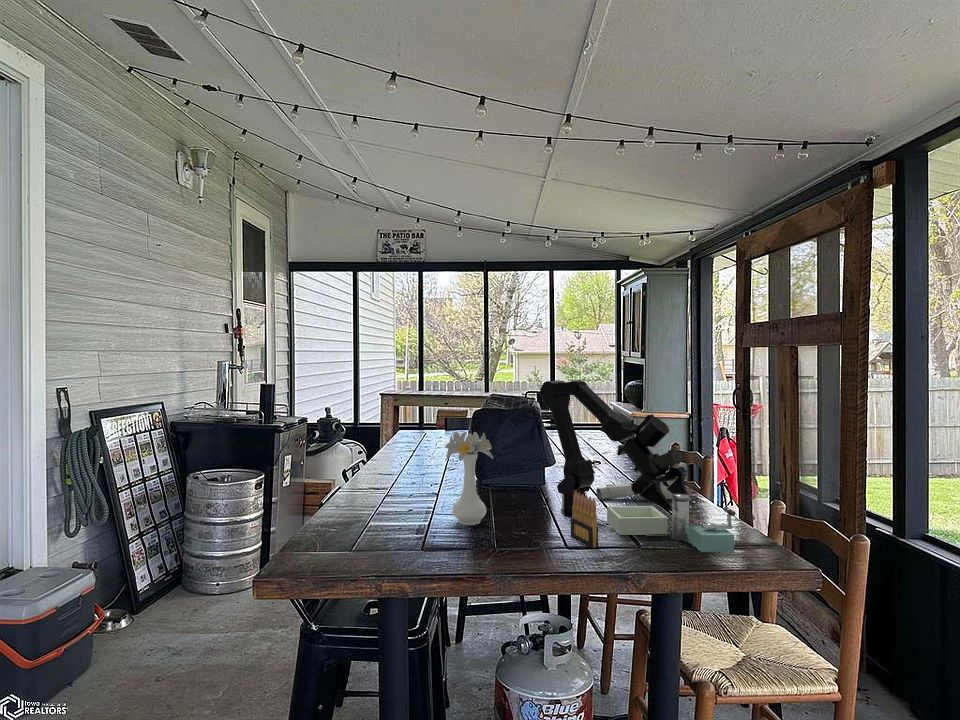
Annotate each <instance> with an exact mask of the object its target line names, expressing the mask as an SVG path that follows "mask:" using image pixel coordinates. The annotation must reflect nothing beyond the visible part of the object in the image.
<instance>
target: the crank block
mask: <svg viewBox="0 0 960 720" xmlns="http://www.w3.org/2000/svg"><path fill="white" fill-rule="evenodd" d="M689 542H690V543H691V544H692V545H691V544H690V543H689ZM688 543H689V544H690V545H691V546H693V547H694V548H695V547H696V548H697V550H698V551H699V552H700V551H701V553H720V552H719V551H722V552H721V553H727V552H726V551H734V552H735V534H733V533H732V532H730V531H729V529H716V530H714V531H711V530H707V529H703V528H702V525H689V540H688ZM696 548H695V549H696Z"/></svg>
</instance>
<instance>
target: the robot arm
mask: <svg viewBox="0 0 960 720" xmlns="http://www.w3.org/2000/svg"><path fill="white" fill-rule="evenodd" d="M539 391H540V393H539V394H540V396H541V399H542V401H543V403H544V405H545V406H546V407H547V408H548V410H549V411H550V412H551V414H552V417H553V421H554V425H555V427H556V431H557V435H558V438H559V442H560V446H561V449H562V453H563V456H564V464H563V469H562V471H563V477H564V478H563V479H561V481H560V482H559V483H558V484H557V486H556V489H557V492H558V494H561V509H560V512H561V513H562V514H563V516H564V517H572V508H573V498H574V493H575V491H577V494H578V493H579V492H580V494H581V496H582V494H584V497H585V496H586V495H587V492H590V489H591V487H592V485H593V483H594V481H595V474H596V471H595V470H594V467H593V462H592V460H591V459H587V460H586V458H585V457H584V456H583V454H582V451H581V448H580V445H579V440H578V438H577V434H576V431H575V427H574V423H573V419H572V416H571V413H570V409H569V408H570V407H569V406H570V401H571V396H573V397H575V398H576V399H577V400H578V402H580V403H581V404H582V405H583V406H584V407H585V409H586V410H587V411H589V412H590V413H591V414H592V415H593V416H594V417H595V418H596V419H597V421H598V422H599V423H600V426H601V429H602V431H603V432H604V434H605V435H606V436H607V437H608V439H609V440H610V441H611V442H623V441H625V442H624V443H623V444H618V446H617V448H618V449H617V452H616V455H617V456H624V455H626V456H627V457H628V459H629V460H630V462H632V464H633V465H634V467H633V471H634V472H635V473H637V472H639V473H640V475H639V477H637V478H636V479H635V481H633V482H632V484H631V490H632V492H633V493H634V494H635V495H634V496H636V497H637V496H639V497H640V498H643V499H644V500H645V499H646V500H647V501H649V502H651V503H653V504H655V505H657V506H659V507H660V508H662V509H664V510H666V511H667V512H670V511H672V505H671V504H670V502H669V500H667V499H666V498H665V496H664V494H663V493H662V491H661V490H660V483H663V485H664V486H666V487H668V488H667V490H668V491H670V492H671V493H672V494H686V495H689V494H688V490H687V488H686V486H685V480H686V478H687V474H688V471H687V470H686V468H685V466H682V465H677V466H674V465H676V464H681V463H683V462H682V458H683V457H682V456H683V453H682V452H680V450H678V449H677V448H676V447H675V448H672V449H670V450H667V452H666V453H663V454H661V455H660V454H658V453H653V452H652V451H651V449H650V448H655V447H656V446H657V445H658V444H659V443H660V442H661V441H662V440H663V439H664V438H665V437H666V436H667V435H669V433H670V428H669V426H668V425H667V424H666V422H664V421H663V420H661V419H660V418H658V417H656V416H655V415H654V414H647V415H646V417H644V420H642V422H641V423H640V424H637V423H634V421H633V420H631V419H630V418H628V417H627V416H625V415H624V414H621V413H620V412H617V411H615V410H614V409H613V408H612V407H611V406H609V405H608V404H607V403H606V402H605V401H604V400H603V399H602V398H601V397H600V396H599V395H598V394H596V392H594V390H592V389H591V388H590V387H589V386H588V384H587V382H586V381H584V380H581V379H578V380H571V381H567V382H566V381H564V380H549V381H548V380H547V381H544V382H543V383H542V384H541V388H540V390H539ZM649 447H650V448H649ZM671 466H672V467H671ZM691 503H692V502H691V499H690V498H689V505H691Z"/></svg>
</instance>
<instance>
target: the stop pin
mask: <svg viewBox="0 0 960 720" xmlns="http://www.w3.org/2000/svg"><path fill="white" fill-rule="evenodd" d="M689 499H690V495H689V494H688V495H686V494H673V495H672V498H671V500H672V502H671V504H672V505H671V508H672V509H671V513H672V515H671V517H672V520H671V526H672V527H671V528H672V529H671V539H672V538H673V539H672V540H674V539H676V540H675V541H677V540H687V541H689V540H688V539H689V526H690V525H689V523H690V504H689Z"/></svg>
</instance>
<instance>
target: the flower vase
mask: <svg viewBox="0 0 960 720" xmlns="http://www.w3.org/2000/svg"><path fill="white" fill-rule="evenodd" d="M486 438H487V437H486V434H485V432H483V433H482V435H481V436H479V434H478V433H477V432H476V431H474V432H472V433H468V434H467V431H464V432H462V433H461V435H459V433H458V431H454V432H453V434H450V438H449V442H448V443H447V444H445V446H444V447H445V448H446V449H447V453H446V458H445V462H447V460H448V459H449V458H450V457H451V456H452V455H453V454H458V457H457V458H458V461H459V462H460V461H463V471H464V472H463V474H464V475H463V486H462V487H463V488H462V492H461V494H460V497H459V499H457V501H456V502H455V503H454V504H453V506H452V515H453V516H454V518H455V519H456V520H457V523H458V524H459V525H462V526H476V524H477V525H479V524H480V523H481V521H482V519H483V518H485V516H486V514H487V507H486V505H485V503H484V502H483V501H482V500H481V498H480V497H479V494H478V491H477V488H476V462H477V459H478V456H479V455H478V454H479V452H481V453H484V454H485V455H487V456H488V457H490V459H492V460H493V459H494V457H493V454H492V452H491V451H489V450H492V444H491V443H490V440H489V439H486Z"/></svg>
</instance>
